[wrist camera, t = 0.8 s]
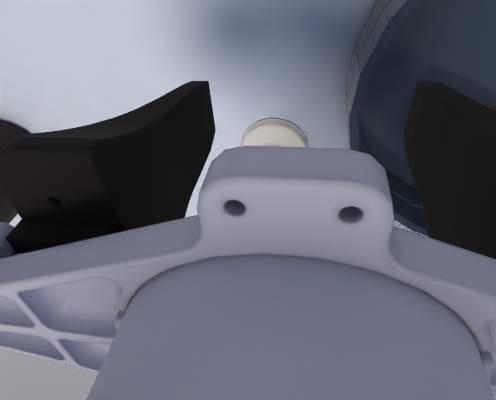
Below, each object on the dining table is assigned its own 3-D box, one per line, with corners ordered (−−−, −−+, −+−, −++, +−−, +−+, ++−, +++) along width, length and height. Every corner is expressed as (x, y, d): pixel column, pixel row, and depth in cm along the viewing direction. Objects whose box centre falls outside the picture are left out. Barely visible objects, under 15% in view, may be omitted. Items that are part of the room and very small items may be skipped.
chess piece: (284, 105, 24) (267, 207, 17) (320, 158, 26) (319, 267, 19) (228, 138, 26) (191, 238, 19) (265, 183, 29) (245, 288, 21)
